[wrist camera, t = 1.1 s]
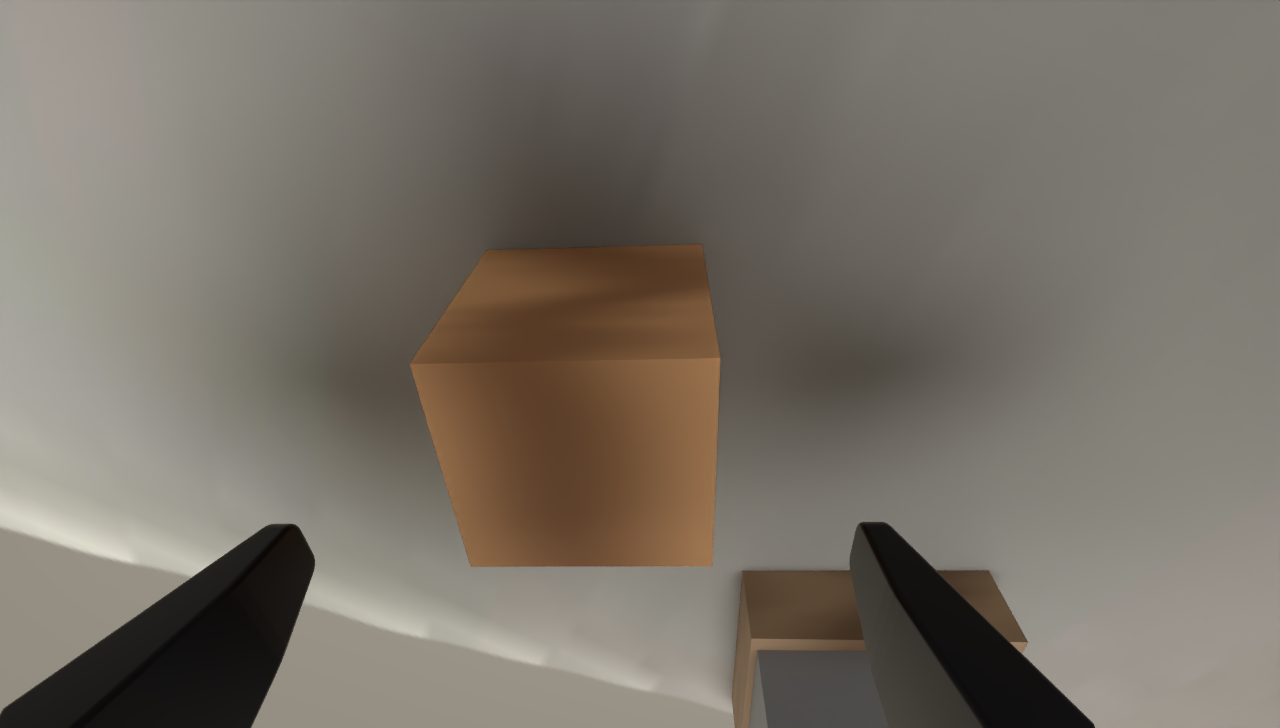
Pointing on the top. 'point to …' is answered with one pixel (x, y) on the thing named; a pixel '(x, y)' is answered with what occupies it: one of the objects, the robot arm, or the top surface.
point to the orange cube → (578, 406)
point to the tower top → (814, 690)
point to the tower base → (829, 618)
